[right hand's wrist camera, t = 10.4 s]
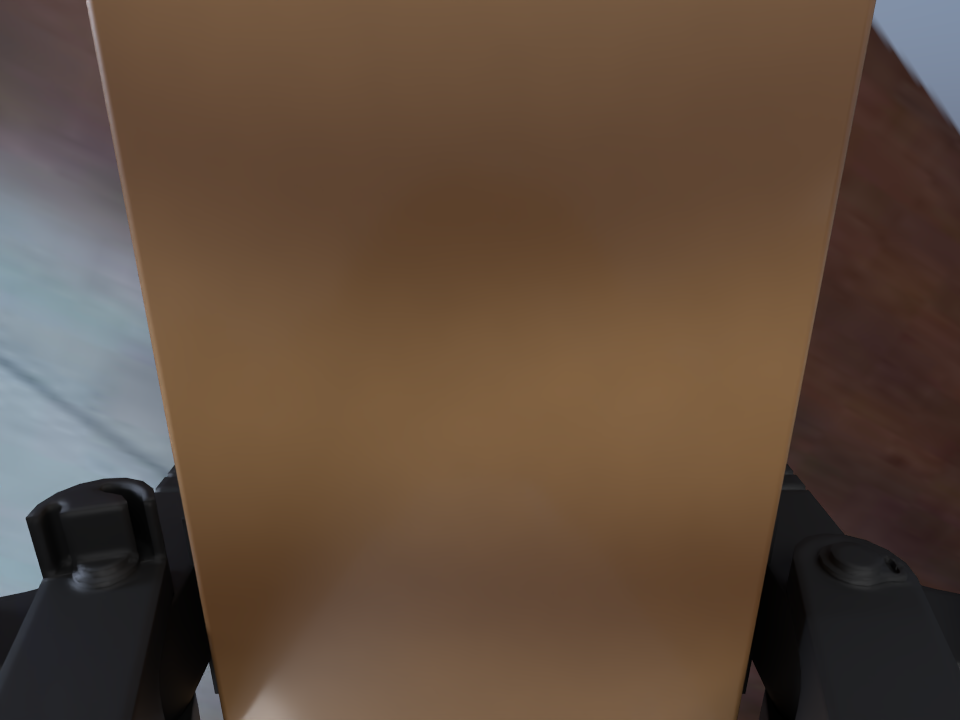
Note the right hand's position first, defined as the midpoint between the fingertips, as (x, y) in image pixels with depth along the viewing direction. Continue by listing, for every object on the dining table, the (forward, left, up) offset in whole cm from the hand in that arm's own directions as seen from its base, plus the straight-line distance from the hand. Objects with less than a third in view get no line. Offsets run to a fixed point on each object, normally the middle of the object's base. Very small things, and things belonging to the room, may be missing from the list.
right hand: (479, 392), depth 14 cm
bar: (-20, +22, -1) cm, 30 cm away
